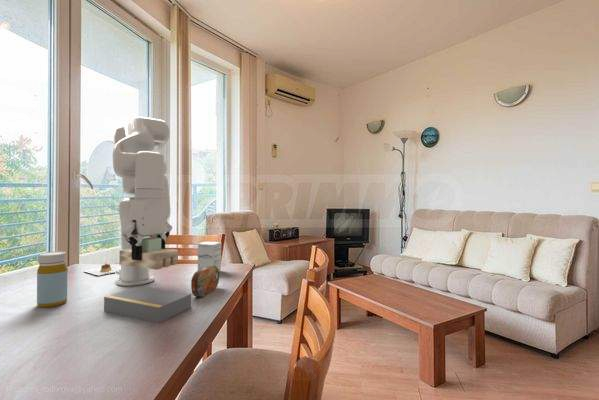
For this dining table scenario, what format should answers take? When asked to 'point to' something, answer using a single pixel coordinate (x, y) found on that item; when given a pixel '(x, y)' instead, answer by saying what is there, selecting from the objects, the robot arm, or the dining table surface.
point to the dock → (147, 303)
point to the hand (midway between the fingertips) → (149, 256)
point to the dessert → (103, 269)
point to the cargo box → (150, 244)
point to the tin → (205, 281)
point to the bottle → (52, 279)
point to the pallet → (150, 259)
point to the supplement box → (209, 255)
